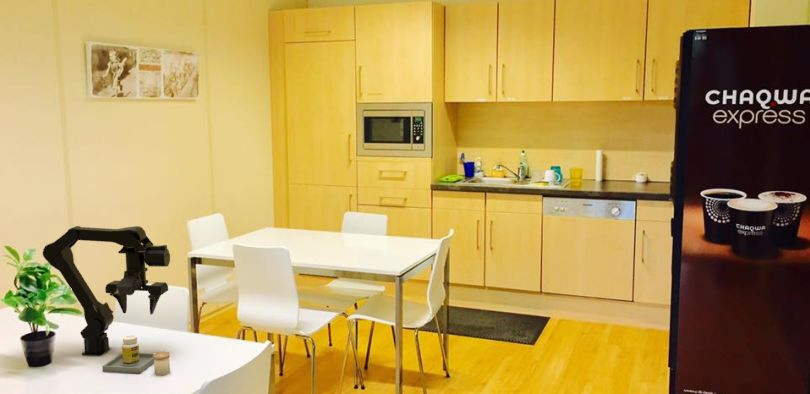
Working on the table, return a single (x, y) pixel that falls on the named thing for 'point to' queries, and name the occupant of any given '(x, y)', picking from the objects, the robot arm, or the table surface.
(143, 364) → the tray
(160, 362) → the sugar jar
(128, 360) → the supplement bottle
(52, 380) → the table surface
